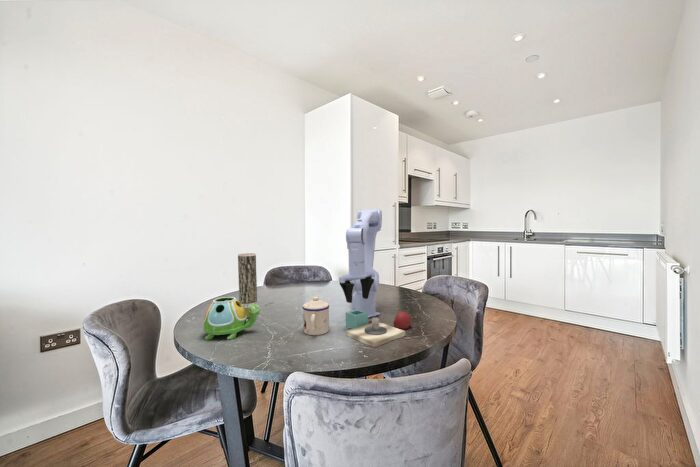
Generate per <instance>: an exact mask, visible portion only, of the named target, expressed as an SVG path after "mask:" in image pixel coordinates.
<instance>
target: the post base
mask: <svg viewBox="0 0 700 467" xmlns="http://www.w3.org/2000/svg"><path fill="white" fill-rule="evenodd" d="M346 336H347V337H349V338H351V339H353V340H356V341H358V342H360V343H362V344H365V345H367V346H370V347H372V348H377V347H380V346H383V345H384V344H385V345H386V344H388V343H390V342H393V341H394V340H398V339H401V338H403V337H405V336H406V330H405V329H398V328H396V327H395V326H392V325H389V324H387V323H383V322H381V321H380V319H379V318H378V317H372V318H371V322H370V323H368V324H367V325H364V326H361V327H357V328H354V329H351V328H350V329H347V330H346Z"/></svg>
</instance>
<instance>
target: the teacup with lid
mask: <svg viewBox="0 0 700 467" xmlns="http://www.w3.org/2000/svg"><path fill="white" fill-rule="evenodd" d="M329 307H330V303H328V302H327V301H324V300H322V299H319V297H318V296H313V297H312V299H311V300H309V301H308V302H305V303H304V304H303V305H302V311H303V314H302V315H303V317H302V318H303V332H304V334H306V335H309V336H320V335H324V334H327V333H329V331H330V317H329V316H330V312H329V311H330V308H329Z"/></svg>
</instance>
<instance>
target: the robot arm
mask: <svg viewBox="0 0 700 467" xmlns="http://www.w3.org/2000/svg"><path fill="white" fill-rule="evenodd" d="M356 218H357V220H355V222H354V223H353V225H352V227H349V228H348V229H346V232H345V241H346V248H347V250H348V273H347V274H344V275H340V276H338V282H339V286H340V288H341V289H342V291H343V294H344V297H345V300H346V301H345V302H346V303H348V304H351V311H353V310H357V309H358V310H361V311H364V312H367V313H368V319H369V318H371V317H372V318H374V317H376V316H379V315H381V313H380V312H377V311H376V293H377V292H378V291H379V289H380V275H379V272H378V271H377V270H376V269H374V259H375V251H376V249H375V248H376V238H377V234H378V233H379V232H380V231H381V230H382V224H383V212H382V210H381V208H378V209H377V208H376V209H359V210H358V211H357V216H356ZM353 291H354V292H353Z"/></svg>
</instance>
